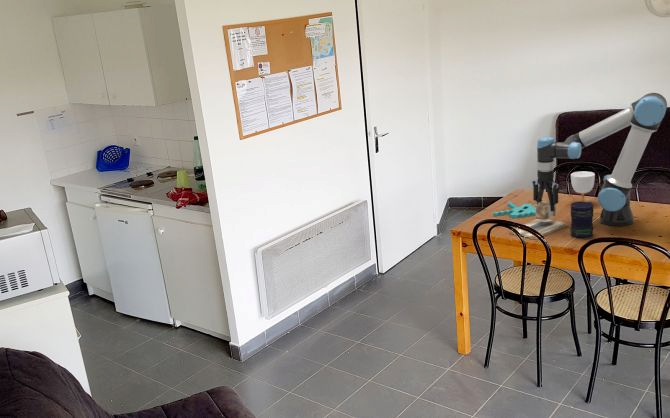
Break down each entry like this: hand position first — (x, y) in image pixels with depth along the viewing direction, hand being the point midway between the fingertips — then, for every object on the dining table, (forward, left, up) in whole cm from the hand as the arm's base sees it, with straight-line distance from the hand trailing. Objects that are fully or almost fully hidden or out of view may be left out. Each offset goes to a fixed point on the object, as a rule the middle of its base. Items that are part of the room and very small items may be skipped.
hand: (545, 215), depth 322 cm
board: (0, +7, -5) cm, 9 cm away
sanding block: (0, 0, 0) cm, 0 cm away
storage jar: (-21, +2, -5) cm, 22 cm away
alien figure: (+24, -11, -6) cm, 27 cm away
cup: (+4, -38, -5) cm, 39 cm away
